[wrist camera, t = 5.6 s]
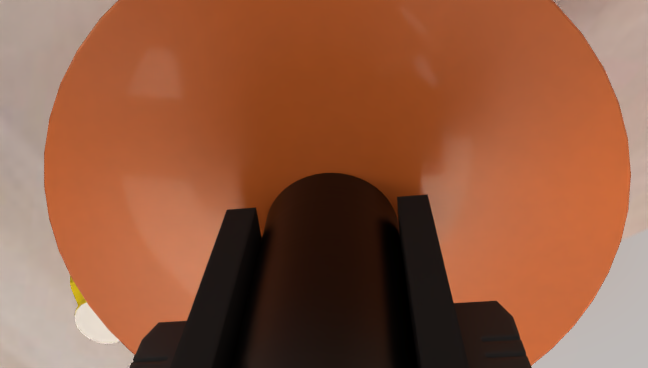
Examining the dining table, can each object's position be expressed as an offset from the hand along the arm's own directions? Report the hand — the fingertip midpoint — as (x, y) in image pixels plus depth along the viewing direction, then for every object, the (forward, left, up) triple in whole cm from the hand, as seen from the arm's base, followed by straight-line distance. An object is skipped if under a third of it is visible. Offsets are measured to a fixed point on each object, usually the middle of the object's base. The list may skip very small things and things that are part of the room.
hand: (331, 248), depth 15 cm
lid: (0, 0, -1) cm, 1 cm away
